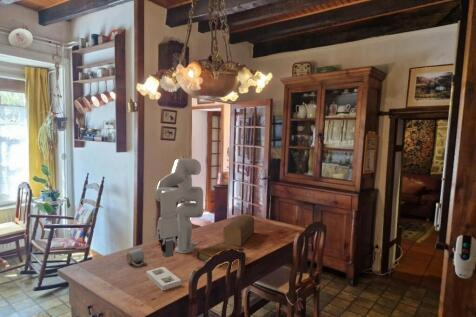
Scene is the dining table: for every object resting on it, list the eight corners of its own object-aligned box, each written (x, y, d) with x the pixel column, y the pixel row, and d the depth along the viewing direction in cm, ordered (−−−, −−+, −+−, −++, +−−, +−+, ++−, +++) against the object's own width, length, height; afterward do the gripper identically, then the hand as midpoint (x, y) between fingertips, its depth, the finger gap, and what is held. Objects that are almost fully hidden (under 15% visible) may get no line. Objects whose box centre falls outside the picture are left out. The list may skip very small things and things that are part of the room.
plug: (169, 253, 156) (169, 236, 155) (173, 255, 153) (173, 238, 152) (162, 255, 153) (162, 237, 153) (165, 257, 150) (166, 239, 150)
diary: (222, 250, 205) (223, 241, 205) (243, 257, 192) (244, 248, 192) (196, 259, 188) (196, 250, 187) (217, 268, 175) (218, 258, 175)
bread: (254, 233, 242) (255, 215, 241) (241, 247, 210) (241, 226, 209) (238, 230, 247) (238, 213, 246) (222, 244, 214) (222, 224, 213)
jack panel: (163, 271, 169) (163, 266, 169) (181, 284, 154) (181, 280, 153) (146, 275, 163) (146, 271, 162) (162, 290, 147) (162, 285, 147)
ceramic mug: (125, 262, 179) (125, 249, 179) (138, 258, 185) (138, 246, 184) (133, 268, 172) (133, 255, 171) (146, 264, 177) (147, 251, 177)
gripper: (179, 211, 160) (179, 245, 161) (149, 215, 149) (148, 252, 151) (186, 214, 154) (186, 249, 155) (155, 218, 144) (155, 256, 145)
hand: (167, 250), depth 153 cm, fingers closed on plug, 4 cm apart
